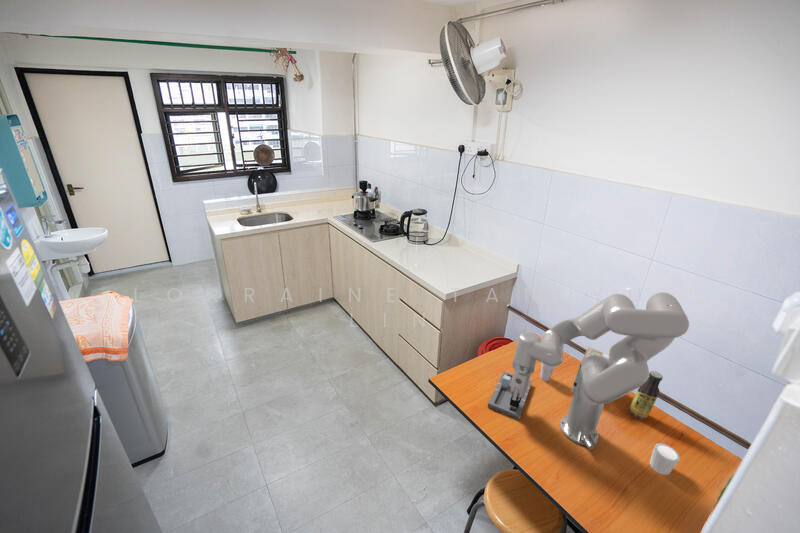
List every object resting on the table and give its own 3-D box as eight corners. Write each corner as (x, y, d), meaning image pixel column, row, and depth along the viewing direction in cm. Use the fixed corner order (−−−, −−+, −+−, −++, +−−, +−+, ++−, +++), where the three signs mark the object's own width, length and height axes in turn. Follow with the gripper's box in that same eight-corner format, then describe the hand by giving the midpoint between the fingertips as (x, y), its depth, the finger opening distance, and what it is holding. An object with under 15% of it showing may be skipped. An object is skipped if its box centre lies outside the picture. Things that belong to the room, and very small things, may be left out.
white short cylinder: (649, 454, 124) (655, 439, 121) (673, 466, 120) (680, 451, 117) (646, 467, 119) (653, 452, 116) (671, 481, 115) (679, 465, 112)
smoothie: (533, 375, 158) (540, 349, 152) (544, 371, 161) (551, 345, 155) (544, 384, 153) (552, 358, 147) (556, 381, 155) (563, 354, 150)
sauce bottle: (628, 416, 139) (645, 375, 131) (628, 406, 144) (643, 366, 136) (648, 423, 136) (666, 382, 128) (647, 412, 141) (664, 372, 133)
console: (518, 420, 135) (519, 415, 134) (487, 406, 140) (488, 402, 139) (531, 385, 152) (532, 381, 151) (503, 374, 158) (503, 370, 157)
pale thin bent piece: (596, 403, 144) (607, 374, 138) (570, 392, 150) (579, 363, 144) (603, 383, 155) (613, 355, 149) (579, 373, 161) (587, 345, 155)
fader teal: (507, 390, 147) (509, 380, 145) (500, 388, 148) (502, 378, 146) (508, 387, 149) (510, 377, 147) (502, 384, 150) (504, 374, 148)
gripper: (529, 381, 122) (519, 421, 130) (538, 356, 135) (529, 394, 143) (507, 373, 126) (499, 413, 133) (518, 349, 139) (510, 387, 146)
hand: (515, 403), depth 138 cm, fingers closed on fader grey, 2 cm apart
